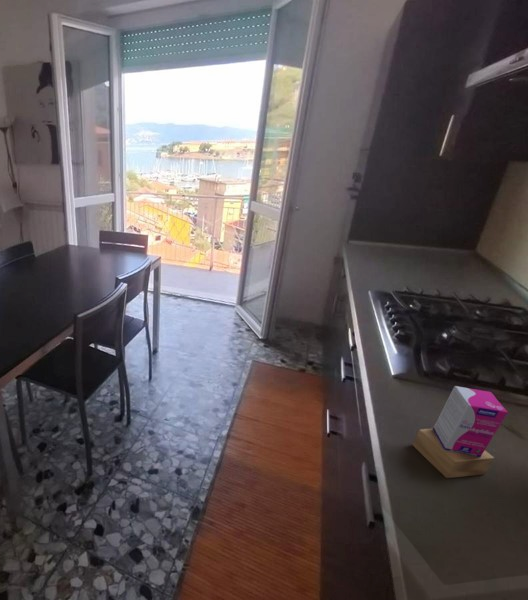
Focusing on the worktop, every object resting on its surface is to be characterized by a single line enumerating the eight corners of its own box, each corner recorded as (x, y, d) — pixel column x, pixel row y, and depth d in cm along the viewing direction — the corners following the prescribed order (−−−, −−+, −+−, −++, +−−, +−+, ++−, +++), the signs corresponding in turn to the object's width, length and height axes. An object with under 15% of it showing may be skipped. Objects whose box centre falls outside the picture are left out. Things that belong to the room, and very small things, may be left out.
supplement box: (444, 451, 68) (468, 404, 63) (431, 428, 73) (452, 384, 68) (482, 458, 66) (509, 411, 61) (466, 435, 71) (490, 390, 66)
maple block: (447, 441, 75) (455, 426, 73) (484, 474, 68) (494, 457, 66) (412, 445, 75) (419, 429, 73) (446, 478, 68) (455, 461, 66)
